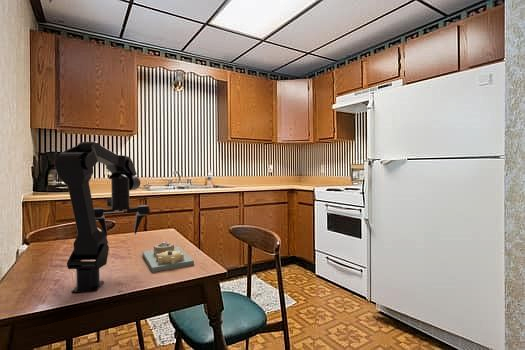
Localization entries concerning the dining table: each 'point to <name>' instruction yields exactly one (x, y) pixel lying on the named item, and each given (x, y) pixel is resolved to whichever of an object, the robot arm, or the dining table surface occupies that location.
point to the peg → (163, 244)
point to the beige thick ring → (163, 248)
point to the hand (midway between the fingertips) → (121, 235)
